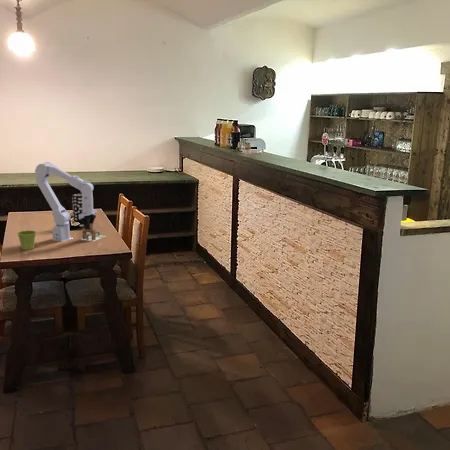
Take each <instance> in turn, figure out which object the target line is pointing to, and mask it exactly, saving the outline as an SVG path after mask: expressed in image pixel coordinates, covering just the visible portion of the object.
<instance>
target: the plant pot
mask: <svg viewBox="0 0 450 450" xmlns="http://www.w3.org/2000/svg"><path fill="white" fill-rule="evenodd" d="M16 234H17V236H18V239H19V242H20V246H21V249H22V250H24V251H30V250H34V249H35V242H36V241H35V240H36V236H37V235H36V234H37V231H36V230H23V231H22V230H21V231H19V232H17V233H16Z"/></svg>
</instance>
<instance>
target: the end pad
mask: <svg viewBox="0 0 450 450" xmlns="http://www.w3.org/2000/svg"><path fill="white" fill-rule="evenodd" d="M90 236H92V235H90ZM96 237H101V238H100V239H102V237H103V238H105V237H106V235H104V234H100V235H98V234H96Z"/></svg>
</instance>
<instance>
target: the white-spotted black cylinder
mask: <svg viewBox="0 0 450 450" xmlns="http://www.w3.org/2000/svg"><path fill="white" fill-rule="evenodd" d="M71 200H72V201H71V202H72V203H71V204H72V220H74V221H76V222H79V223H80V225H79V226H80V227H82V228H81V229H84V224H83V221H82V220H81V218H79V214H81V213H82V212H83V206H82V193H74V194H72V195H71Z"/></svg>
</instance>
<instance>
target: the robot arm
mask: <svg viewBox="0 0 450 450" xmlns="http://www.w3.org/2000/svg"><path fill="white" fill-rule="evenodd" d="M34 172H35V181H36V184H37V186H38V188H39V189H40V191H41V193H42V195H43V196H44V198H45V200H46V202H47V203H48V205H49V207H50V209H51V210H52V216H53V221H54V223H55V225H54V226H53V227H52V230H51V231H52V241H53V242H54V241H55V242H62V243H63V242H66V241H69V240H72V239H74V236H73V237H72V236H71V233H70V232H71V230H70V220H71V214H70V212H68V211H67V210H66V208H65V207H64V206H63V205H62V204H61V203H60V201H59V199H58V197H57V196H56V194H55V192H54V190H53V189H52V187H51V185H50V183H49V182H48V180H49V177H50V176H52V175H55V176H58V177H59V178H62V179H64V181H65V180H66V181H67V182H68V185H70V186H72V187H74V188H75V189H77V190H79V191H80V194H82V206H83V212H82V213H81V214H79V218H81V220H82V221H83V224H84V227H85V229H89V223H93V224H94V223H95V219H96V217H97V216H96V214H98V210H97V209H94V197H93V196H94V195H93V191H94V189H95V188H94V187H95V186H94V184H92V183H91V182H90V181H87V180H84V179H82V178H80V176H79V175H71V174H69V173H68V172H66V171H64V170H63V169H62V168H60V167H58V166H57V165H55V164H52V163H51V162H50V161H45V162H43V163H39V164H38V165H36V167H35V170H34Z"/></svg>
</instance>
